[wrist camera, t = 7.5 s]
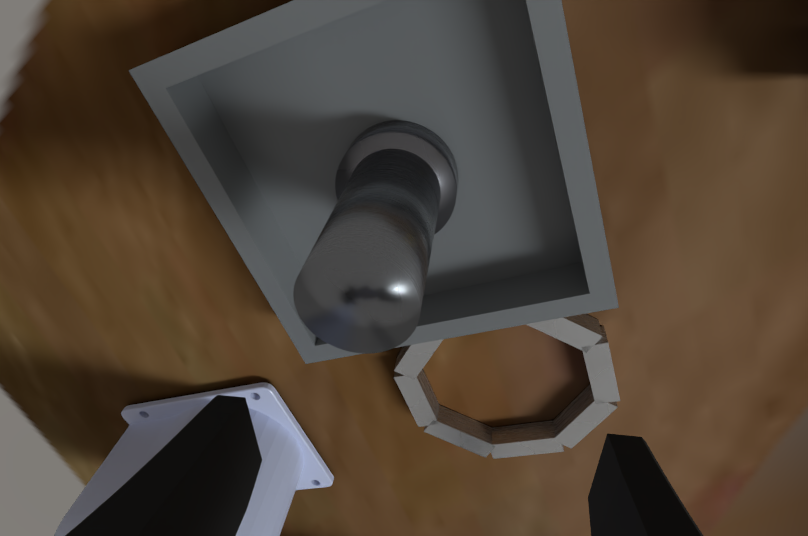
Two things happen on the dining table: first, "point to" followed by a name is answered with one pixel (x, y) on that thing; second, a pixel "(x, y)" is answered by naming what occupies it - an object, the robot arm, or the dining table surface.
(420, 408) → the seat ring
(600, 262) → the tray
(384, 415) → the dining table surface
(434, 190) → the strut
